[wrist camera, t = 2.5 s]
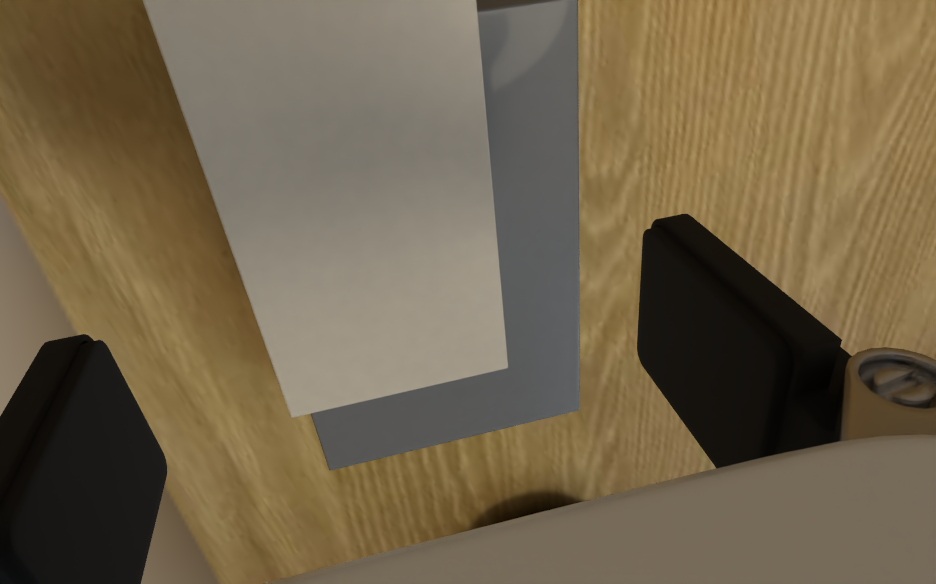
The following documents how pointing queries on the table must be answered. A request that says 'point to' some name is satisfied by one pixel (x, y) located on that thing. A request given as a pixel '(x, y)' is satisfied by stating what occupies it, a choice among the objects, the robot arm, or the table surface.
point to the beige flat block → (348, 184)
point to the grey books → (506, 250)
